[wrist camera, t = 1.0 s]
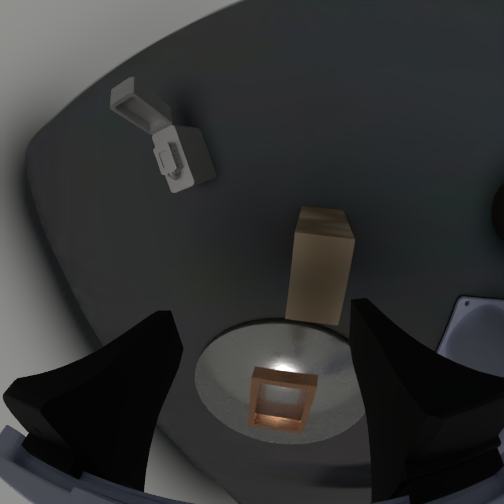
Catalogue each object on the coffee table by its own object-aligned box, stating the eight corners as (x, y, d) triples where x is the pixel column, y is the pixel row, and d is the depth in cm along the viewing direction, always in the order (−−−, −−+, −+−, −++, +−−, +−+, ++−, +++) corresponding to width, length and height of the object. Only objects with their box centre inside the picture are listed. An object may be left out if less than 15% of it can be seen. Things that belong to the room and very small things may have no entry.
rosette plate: (396, 330, 22) (401, 347, 20) (345, 443, 29) (344, 459, 26) (193, 303, 25) (181, 317, 23) (203, 421, 32) (196, 436, 29)
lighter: (217, 177, 21) (166, 194, 14) (197, 185, 22) (140, 205, 14) (187, 93, 19) (126, 74, 12) (168, 103, 20) (103, 90, 12)
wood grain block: (343, 210, 20) (355, 239, 14) (333, 274, 22) (337, 325, 15) (301, 205, 21) (295, 232, 14) (295, 269, 22) (285, 318, 16)
